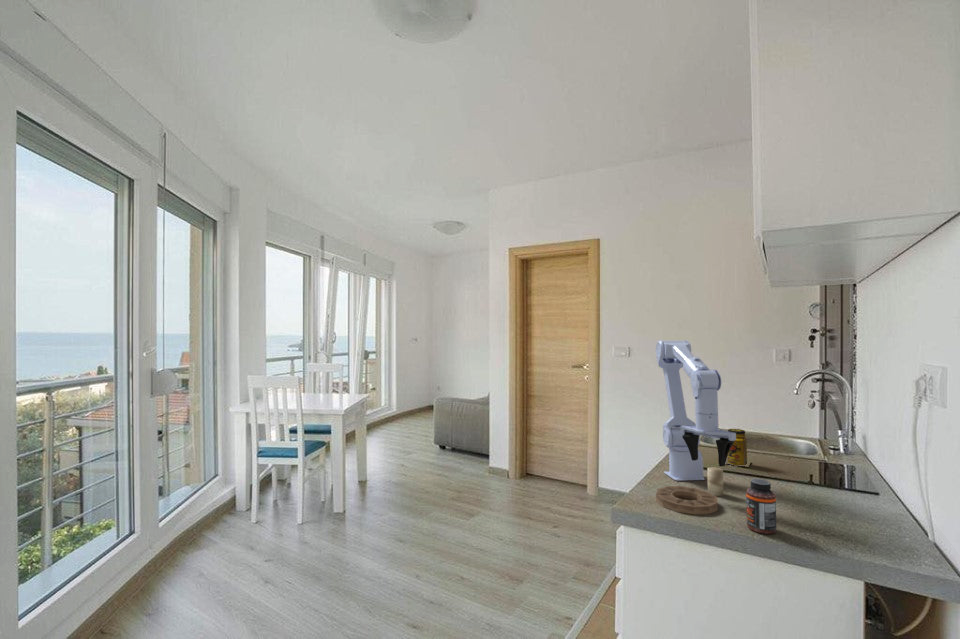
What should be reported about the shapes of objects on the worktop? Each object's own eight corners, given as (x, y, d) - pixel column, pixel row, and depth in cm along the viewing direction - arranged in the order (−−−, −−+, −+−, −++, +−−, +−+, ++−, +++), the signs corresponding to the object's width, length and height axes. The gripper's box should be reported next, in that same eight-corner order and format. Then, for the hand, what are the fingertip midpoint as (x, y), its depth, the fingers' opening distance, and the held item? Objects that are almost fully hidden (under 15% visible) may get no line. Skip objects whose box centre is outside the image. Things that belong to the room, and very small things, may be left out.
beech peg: (718, 491, 131) (717, 466, 131) (726, 496, 127) (726, 471, 127) (704, 491, 131) (704, 467, 131) (712, 496, 127) (712, 471, 127)
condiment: (724, 464, 157) (723, 430, 157) (728, 459, 163) (728, 426, 164) (748, 468, 152) (747, 433, 152) (752, 462, 159) (751, 428, 159)
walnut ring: (697, 492, 130) (697, 485, 130) (730, 513, 115) (729, 505, 115) (647, 493, 129) (647, 486, 129) (673, 515, 114) (673, 507, 114)
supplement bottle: (741, 524, 109) (740, 476, 109) (766, 524, 109) (765, 477, 109) (755, 535, 103) (754, 485, 103) (782, 535, 103) (781, 485, 103)
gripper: (674, 411, 129) (675, 459, 128) (726, 418, 118) (728, 470, 117) (687, 409, 133) (689, 456, 133) (739, 415, 122) (740, 466, 121)
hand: (708, 462), depth 125 cm, fingers open, 7 cm apart
